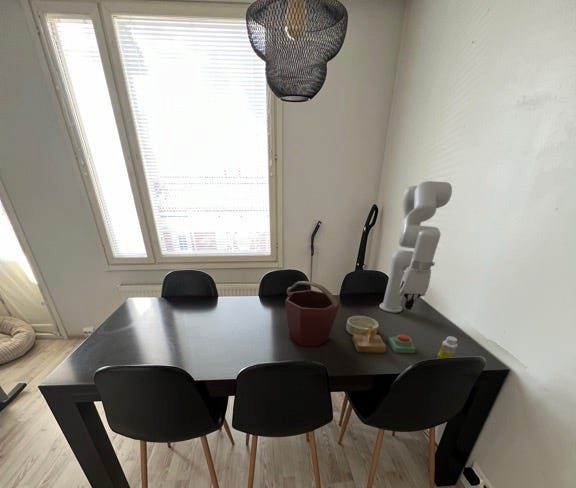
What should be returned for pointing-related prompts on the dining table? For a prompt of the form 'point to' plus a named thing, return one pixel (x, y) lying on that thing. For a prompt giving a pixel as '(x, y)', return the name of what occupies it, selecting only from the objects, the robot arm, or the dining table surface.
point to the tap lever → (369, 333)
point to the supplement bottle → (448, 348)
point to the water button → (403, 338)
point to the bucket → (310, 314)
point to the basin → (360, 324)
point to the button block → (401, 345)
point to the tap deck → (368, 344)
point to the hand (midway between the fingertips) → (407, 308)
